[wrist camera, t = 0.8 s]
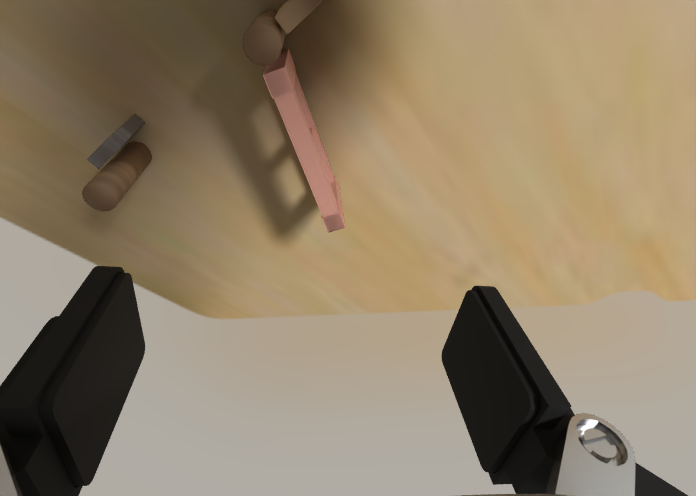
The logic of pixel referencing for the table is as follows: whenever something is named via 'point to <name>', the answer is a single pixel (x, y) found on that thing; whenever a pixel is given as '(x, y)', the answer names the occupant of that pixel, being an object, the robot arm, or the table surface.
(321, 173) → the gate
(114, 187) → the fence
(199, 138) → the table surface
